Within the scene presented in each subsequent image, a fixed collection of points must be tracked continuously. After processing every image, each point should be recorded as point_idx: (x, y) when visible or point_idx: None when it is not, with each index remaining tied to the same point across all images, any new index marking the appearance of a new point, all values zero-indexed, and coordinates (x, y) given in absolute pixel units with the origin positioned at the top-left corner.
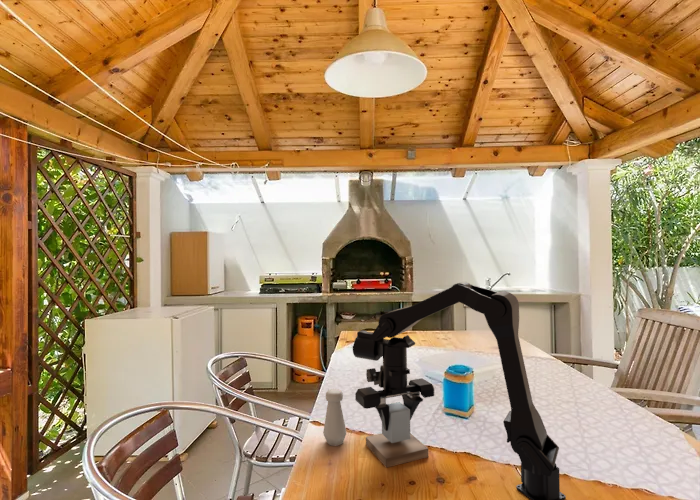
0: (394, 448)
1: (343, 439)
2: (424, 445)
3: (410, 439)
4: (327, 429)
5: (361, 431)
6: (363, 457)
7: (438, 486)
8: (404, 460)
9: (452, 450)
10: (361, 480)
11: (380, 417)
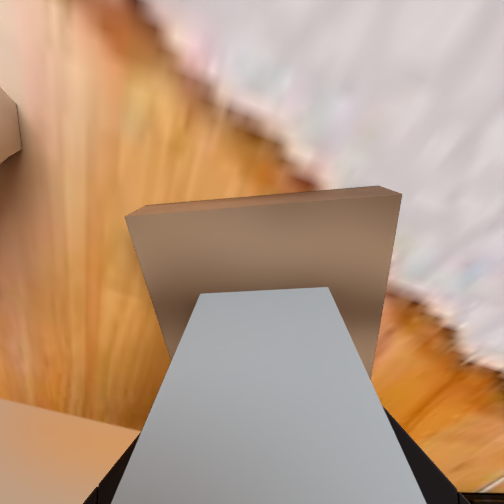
0: None
1: (3, 159)
2: (370, 371)
3: (346, 316)
4: None
5: (142, 10)
6: (123, 293)
7: None
8: None
9: (470, 353)
10: (106, 387)
11: (114, 476)
